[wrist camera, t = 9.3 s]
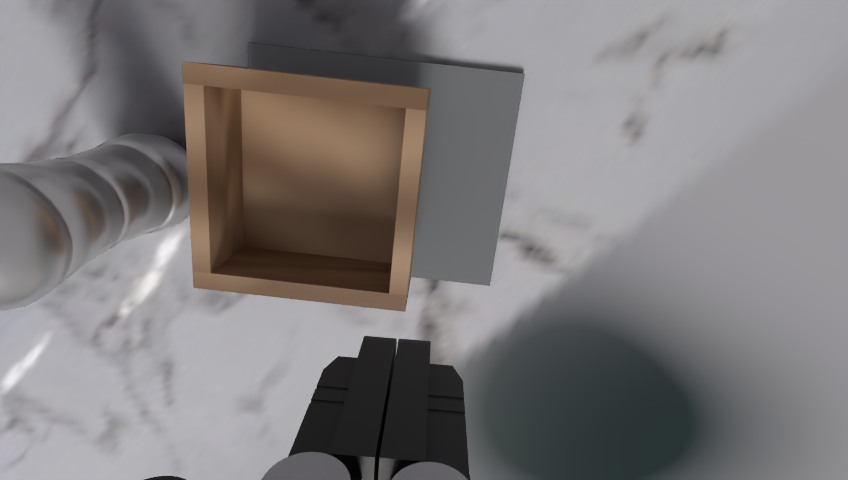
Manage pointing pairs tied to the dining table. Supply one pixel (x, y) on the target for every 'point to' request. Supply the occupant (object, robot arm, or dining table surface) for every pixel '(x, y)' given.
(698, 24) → the dining table surface
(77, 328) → the dining table surface
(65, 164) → the plastic bottle
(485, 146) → the gray mat
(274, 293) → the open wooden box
